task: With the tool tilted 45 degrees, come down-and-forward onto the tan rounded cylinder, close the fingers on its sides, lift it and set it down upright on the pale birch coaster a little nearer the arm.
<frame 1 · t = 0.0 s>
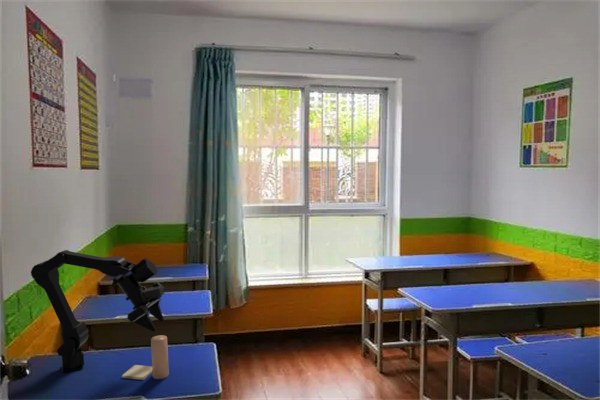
hand: (158, 326, 166), 15 cm above the table, tool tilted 35°, fingers open, 9 cm apart
coaster: (139, 373, 163), on the table
tan rounded cylinder: (160, 375, 161), on the table
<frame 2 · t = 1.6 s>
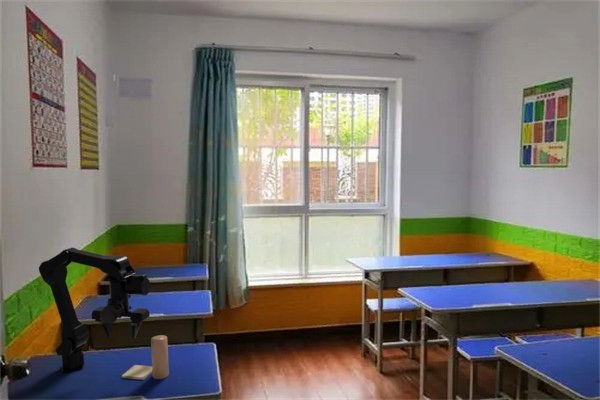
hand: (121, 338, 163), 12 cm above the table, tool pointing down, fingers open, 9 cm apart
nothing on the table moved.
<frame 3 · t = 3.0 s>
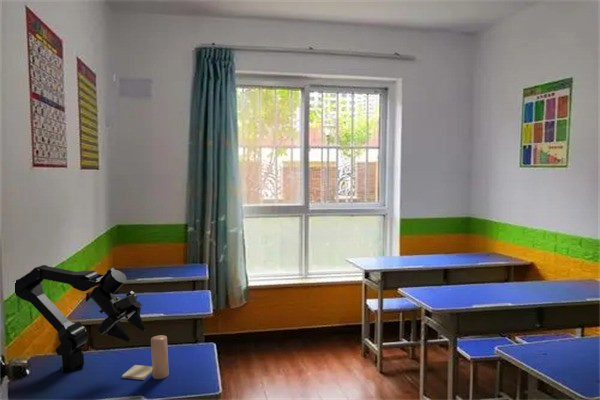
hand: (137, 335, 161), 13 cm above the table, tool tilted 45°, fingers open, 9 cm apart
nothing on the table moved.
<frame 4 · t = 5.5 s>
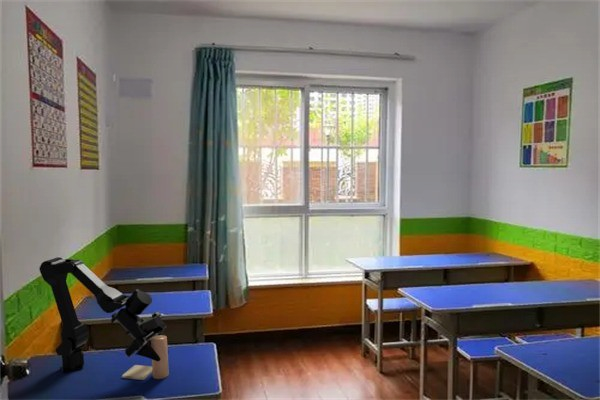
hand: (163, 356, 160), 7 cm above the table, tool tilted 45°, fingers closed on tan rounded cylinder, 5 cm apart
tan rounded cylinder: (160, 375, 161), on the table, touching gripper
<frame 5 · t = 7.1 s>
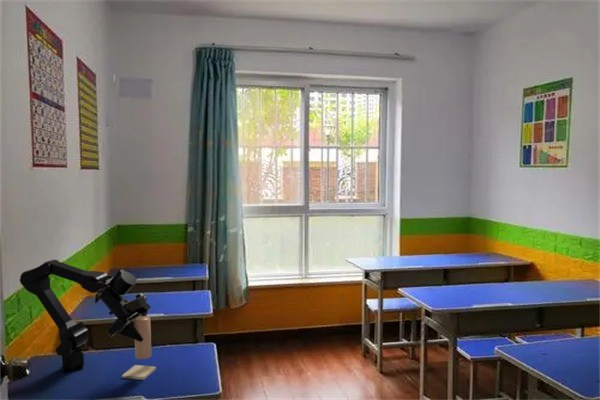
hand: (146, 337, 161), 13 cm above the table, tool tilted 45°, fingers closed on tan rounded cylinder, 5 cm apart
tan rounded cylinder: (143, 355, 161), point 6 cm above the table, touching gripper
when the fingers open (8 cm above the table, at t = 8.6 s): tan rounded cylinder stays where it is, resting on coaster.
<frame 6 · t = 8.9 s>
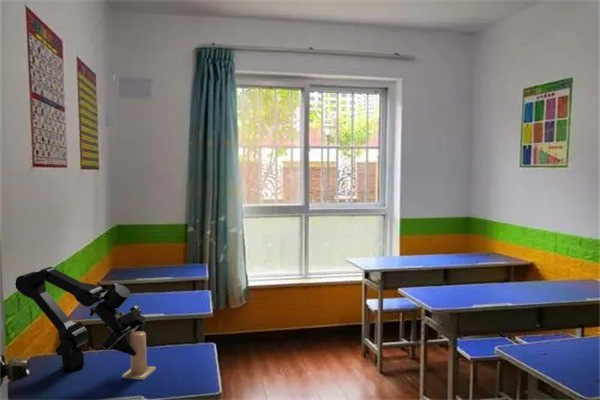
hand: (141, 350, 161), 8 cm above the table, tool tilted 45°, fingers open, 8 cm apart
tan rounded cylinder: (138, 370, 162), point 1 cm above the table, touching coaster
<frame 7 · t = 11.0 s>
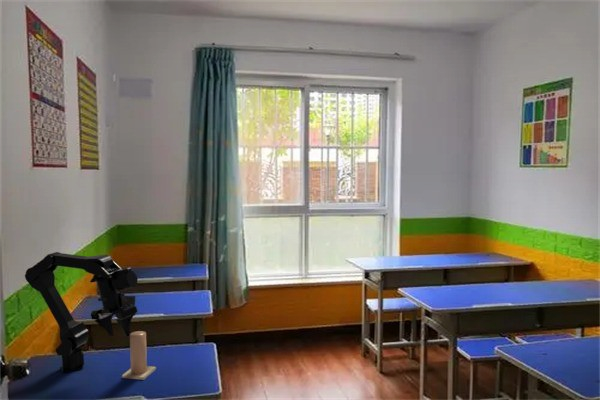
hand: (119, 336, 163), 13 cm above the table, tool pointing down, fingers open, 9 cm apart
nothing on the table moved.
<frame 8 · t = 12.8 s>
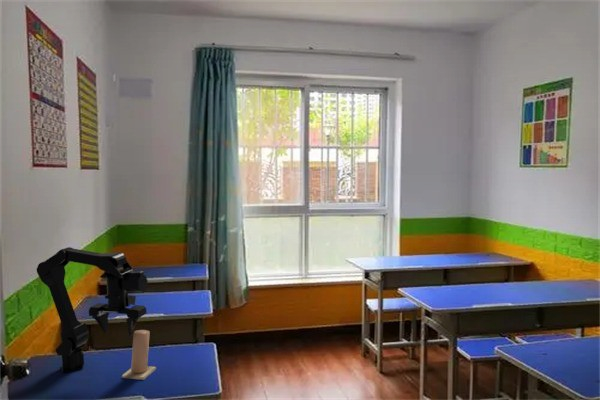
hand: (118, 335, 163), 13 cm above the table, tool pointing down, fingers open, 9 cm apart
tan rounded cylinder: (138, 370, 162), point 1 cm above the table, tilted 7°, touching coaster, gripper
at the end: tan rounded cylinder 0.1 cm from the coaster (horizontally); tan rounded cylinder tilted 7°; the gripper is holding nothing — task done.
